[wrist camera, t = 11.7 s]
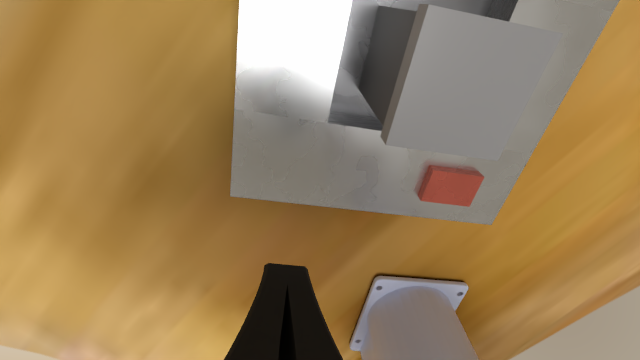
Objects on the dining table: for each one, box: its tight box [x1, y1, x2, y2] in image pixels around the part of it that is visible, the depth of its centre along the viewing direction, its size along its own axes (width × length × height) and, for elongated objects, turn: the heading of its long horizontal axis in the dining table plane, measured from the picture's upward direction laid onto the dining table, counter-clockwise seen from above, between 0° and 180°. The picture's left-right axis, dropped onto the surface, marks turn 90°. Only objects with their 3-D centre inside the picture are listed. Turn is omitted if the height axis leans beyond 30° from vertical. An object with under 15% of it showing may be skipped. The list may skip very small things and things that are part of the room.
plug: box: [359, 4, 563, 161], centre depth 13 cm, size 4×4×7 cm
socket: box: [230, 0, 619, 225], centre depth 16 cm, size 14×16×3 cm
